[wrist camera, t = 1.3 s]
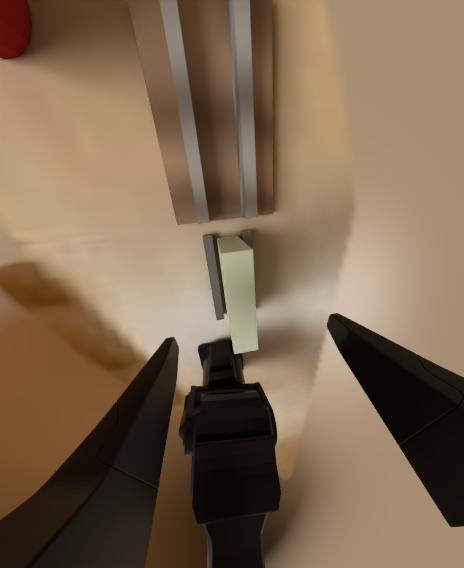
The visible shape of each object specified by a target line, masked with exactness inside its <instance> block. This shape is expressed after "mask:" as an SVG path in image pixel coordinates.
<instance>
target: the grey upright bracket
mask: <svg viewBox="0 0 464 568" xmlns="http://www.w3.org/2000/svg"><path fill="white" fill-rule="evenodd" d="M241 239H242V240H243V241H244V242H245V243H246V244H247V245H248V246H249V247H251V248H252V249H253V247H252V231H251V230H242V231H241ZM203 242H204V248H205V254H206V259H207V265H208V271H209V277H210V283H211V289H212V295H213V300H214V306H215V312H216V318H217V320H221V319H224V314H223V307H222V300H221V294H220V287H219V280H218V273H217V266H216V260H215V253H214V246H213V239H212V234H209V235H203Z"/></svg>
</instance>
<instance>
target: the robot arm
mask: <svg viewBox="0 0 464 568" xmlns="http://www.w3.org/2000/svg"><path fill="white" fill-rule="evenodd" d="M327 328H328V330H329V332H330V334H331V336H332V338H333V340H334V342H335V344H336V346H337V348H338V350H339V351H340V353H341V354H342V356H343V358H344V360H345V361H346V363H347V364H348V366H349V368H350V369H351V371H352V372H353V374H354V375H355V377H356V379H357V380H358V382H359V383H360V385H361V387H362V388H363V390H364V391H365V393H366V395H367V396H368V397H369V399H370V401H371V402H372V404H373V405H374V407H375V409H376V410H377V412H378V413H379V415H380V417H381V418H382V420H383V421H384V423H385V425H386V426H387V428H388V429H389V431H390V433H391V434H392V436H393V437H394V439H395V440H396V442H397V444H398V445H399V447H400V449H401V450H402V452H403V453H404V455H405V456H406V458H407V459H408V461H409V463H410V464H411V466H412V468H413V469H414V471H415V472H416V474H417V475H418V477H419V479H420V480H421V482H422V483H423V485H424V487H425V488H426V490H427V491H428V493H429V494H430V496H431V498H432V499H433V501H434V502H435V504H436V505H437V507H438V509H439V510H440V512H441V513H442V515H443V516H444V518H445V519H446V521H447V523H448V524H449V525H450V526H451V527H462V526H464V377H462V376H459V375H457V374H455V373H453V372H451V371H449V370H447V369H445V368H443V367H441V366H439V365H437V364H435V363H433V362H431V361H429V360H427V359H425V358H423V357H421V356H419V355H416V354H415V353H413V352H411V351H410V350H407V349H406V348H404V347H402V346H400V345H398V344H396V343H394V342H392V341H390V340H388V339H387V338H385V337H383V336H381V335H379V334H377V333H375V332H373V331H371V330H369V329H367V328H365V327H364V326H362V325H359V324H358V323H356V322H354V321H352V320H350V319H348V318H346V317H344V316H342V315H340V314H338V313H335V314H331V315H330V316H329V319H328V322H327ZM201 348H202V349H201ZM198 352H199V356H200V360H201V364H202V368H203V386H191V392H189V395H187V396H186V397H185V405H184V412H183V416H182V420H181V424H180V428H179V436H180V437H181V439H182V440H183V446H185V450H184V451H185V452H184V455H185V456H192V468H191V488H190V491H191V497H192V499H193V502H192V504H193V510H194V514H195V516H196V520H197V523H198V525H203V527H204V530H205V532H206V535H207V537H208V559H207V568H265V564H264V552H263V538H262V531H263V528H264V524H265V521H266V518H267V514H268V513H271V512H277V511H278V509H279V502H280V495H281V490H280V483H279V477H278V471H277V465H276V456H275V446H276V443H277V428H276V421H275V417H274V413H273V410H272V407H271V405H270V403H269V401H268V399H267V397H266V395H265V393H264V391H263V389H262V387H261V385H260V383H259V382H255V383H251V384H245V380H244V375H243V359H242V353H238V354H234V350H233V344H232V340H229V341H223V342H217V343H211V344H205V345H200V346H199V347H198ZM178 353H179V347H178V344H177V342H176V340H175V338H174V337H170V338H166V339H165V341H164V342H163V343H162V344H161V346H160V347H159V348H158V349H157V351H156V352H155V353H154V354H153V356H152V357H151V358H150V360H149V361H148V362H147V363H146V365H145V366H144V367H143V368H142V370H141V371H140V372H139V373H138V375H137V376H136V377H135V379H134V380H133V381H132V382H131V384H130V385H129V386H128V387H127V389H126V390H125V391H124V393H123V394H122V395H121V396H120V397H119V399H118V400H117V402H116V403H115V404H114V405H113V406H112V408H111V409H110V410H109V411H108V413H107V414H106V415H105V416H104V418H103V419H102V420H101V421H100V422H99V424H98V425H97V426H96V427H95V428H94V429H93V430H92V432H91V433H90V434H89V435H88V436H87V437H86V438H85V440H84V441H83V442H82V443H81V444H80V445H79V446H78V447H77V449H76V450H75V451H74V452H73V453H72V454H71V455H70V456H69V458H68V459H67V460H66V461H65V462H64V463H63V464H62V465H61V466H60V468H59V469H58V470H57V471H56V472H55V473H54V474H53V475H52V476H51V477H50V479H49V480H48V481H47V482H46V483H45V484H44V485H43V486H42V487H41V488H40V489H39V490H38V491H37V492H36V493H34V494H33V495H32V496H31V497H30V498H29V499H27V500H26V501H25V502H24V503H23V504H21V505H20V506H19V507H17V508H16V509H15V510H14V511H12V512H11V513H9V514H8V515H7V516H5V517H4V518H2V519H1V520H0V568H145V562H146V556H147V551H148V545H149V539H150V533H151V527H152V521H153V515H154V509H155V504H156V498H157V492H158V490H157V489H158V486H159V479H160V474H161V468H162V462H163V456H164V451H165V445H166V439H167V433H168V427H169V422H170V416H171V410H172V404H173V398H174V392H175V387H176V380H177V370H178Z"/></svg>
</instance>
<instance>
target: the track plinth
mask: <svg viewBox="0 0 464 568" xmlns="http://www.w3.org/2000/svg"><path fill="white" fill-rule="evenodd" d="M127 3H128V7H129V12H130V16H131V21H132V25H133V29H134V34H135V38H136V43H137V47H138V52H139V56H140V61H141V65H142V70H143V74H144V79H145V83H146V87H147V92H148V96H149V101H150V105H151V110H152V114H153V119H154V123H155V128H156V132H157V136H158V141H159V145H160V150H161V154H162V159H163V163H164V168H165V172H166V177H167V181H168V185H169V190H170V194H171V199H172V203H173V208H174V212H175V217H176V221H177V225H180V224H189V223H197V222H198V224H201V223H210V221H214V220H223V219H231V218H240V217H244V218H252V217H258V215H265V214H273V124H272V0H127Z"/></svg>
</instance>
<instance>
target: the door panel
mask: <svg viewBox="0 0 464 568" xmlns="http://www.w3.org/2000/svg"><path fill="white" fill-rule="evenodd" d="M217 244H218V252H219V259H220V266H221V273H222V281H223V288H224V295H225V302H226V310H227V316H228V321H229V327H230V333H231V339H232V344H233V350H234V354H238V353H244V352H249V351H255V350H258V337H257V318H256V299H255V279H254V260H253V249H252V248H251V247H249V246H248V245H247V244H246V243H245V242H244V241H243V240H241V239H240V238H239V237H238V236H229V237H221V238H217Z"/></svg>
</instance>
